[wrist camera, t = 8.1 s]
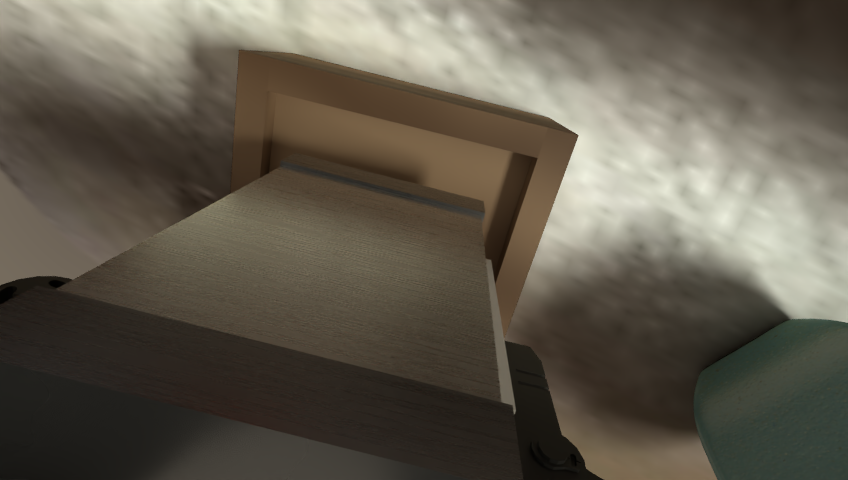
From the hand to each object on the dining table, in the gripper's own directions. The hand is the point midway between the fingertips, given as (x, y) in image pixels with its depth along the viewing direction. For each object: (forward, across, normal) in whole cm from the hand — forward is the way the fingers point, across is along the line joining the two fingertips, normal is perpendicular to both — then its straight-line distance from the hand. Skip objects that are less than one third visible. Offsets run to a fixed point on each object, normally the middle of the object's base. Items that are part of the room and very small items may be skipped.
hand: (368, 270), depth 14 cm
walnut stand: (+6, 0, 0) cm, 6 cm away
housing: (0, 0, 0) cm, 1 cm away
